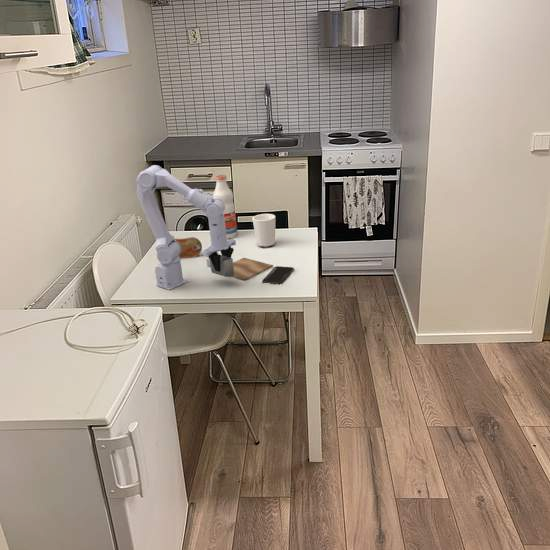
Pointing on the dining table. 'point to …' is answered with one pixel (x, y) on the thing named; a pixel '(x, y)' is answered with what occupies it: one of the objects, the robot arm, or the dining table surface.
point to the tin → (189, 247)
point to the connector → (223, 266)
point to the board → (248, 268)
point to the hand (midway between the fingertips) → (222, 268)
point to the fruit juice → (226, 205)
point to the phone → (278, 275)
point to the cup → (264, 229)
